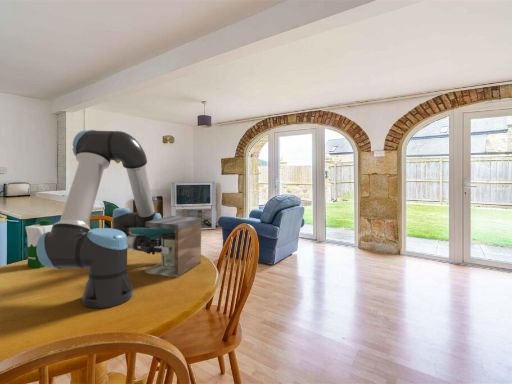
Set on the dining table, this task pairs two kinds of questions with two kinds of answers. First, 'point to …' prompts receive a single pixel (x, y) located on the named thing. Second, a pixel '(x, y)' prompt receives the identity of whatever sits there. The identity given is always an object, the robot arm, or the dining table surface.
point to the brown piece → (180, 244)
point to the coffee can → (169, 241)
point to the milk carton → (33, 236)
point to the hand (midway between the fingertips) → (177, 247)
